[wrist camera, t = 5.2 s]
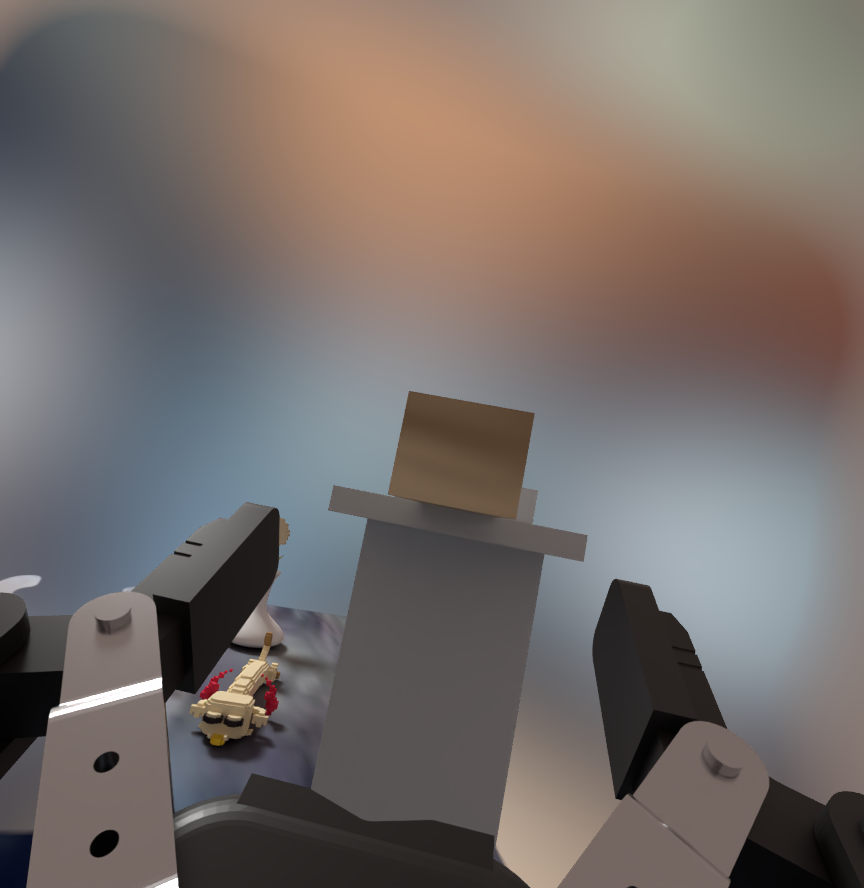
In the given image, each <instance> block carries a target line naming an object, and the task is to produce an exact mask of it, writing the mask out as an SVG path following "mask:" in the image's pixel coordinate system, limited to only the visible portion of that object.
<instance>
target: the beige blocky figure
mask: <svg viewBox="0 0 864 888" xmlns="http://www.w3.org/2000/svg"><path fill="white" fill-rule="evenodd" d="M272 635H273V633H272V632H266V635H265V638H264V646H263V649H262V652H261V655H260V657H259V660H253V659H250V660H249V662H248V665H246V666H244V667H243V668H242V672H241V673H240V675H239V676H238V677H237V678H236V679H235V681H234V683H233V684H232V685H231V686H230V687H229V689H228V691H227V692H223V691H220V692H218V689H219V685H220V684H218V683H217V682H218V680H219V678H224V674H225V673H226V674H227V672H228V671H226V670H225V673H223V672H220V674H219V676H214V678H211V681H210V683H209V685H208V686H206V687H205V689H204V690H203V691H202V692H201V693H200V697H201V698H202V699H201V700H200V701H199V702H198V704H197V705H194V704H193V705H191V708H190V712H189V714H194V717H196V718H199V717H200V715H201V716H203V718H202V721H201V724H199V726H198V727H200V730H202V733H204V734H207V737H208V738H211V740H210V743H212V745H218V746H220V745H223V744H224V743H225V741H228V739H229V738H233V739H238V738H241V737H242V736H244V735H246V736H248V735H251V733H252V732H253V729H248V728H249V724H250V720H251V716H252V713H253V714H254V715H253V718H252V722H251V723H252V724H256V727H261V725H265V726H266V725H267V721H268V717H269V716H268V715H271V712H272V711H273V712H274V710H275V709H277V707H278V702H279V701H277V697H275V695H276V691H277V688H275V686H273V685H271V683H272V682H274V680H275V679H279V676H280V672H277V668H278V664H277V663H272V666H271V668H270V666H269V664H267V661H266V657H267V654H268V652H269V649H270V647H271V643H272ZM232 670H233V669H230V671H229V672H232ZM265 681H266V685H268V686H270V690H269V692H267V691H266V693H265V698H264V699H265V700H266V701H267V702H266V706H265V708H267V711H266V710H264V709H263V708H260V707H255V706H254V703H255V700H253V694H254V693H255V692H256V690H257V689H258V688H259V686H261V685H262V684H263V682H265ZM215 692H216V693H215ZM266 715H267V716H266Z"/></svg>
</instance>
